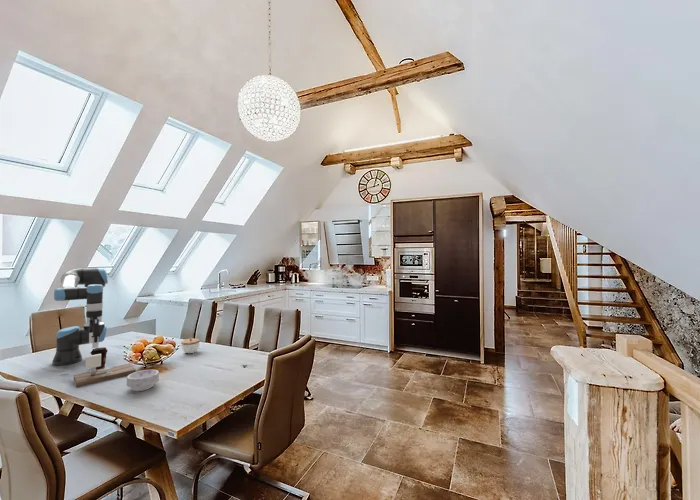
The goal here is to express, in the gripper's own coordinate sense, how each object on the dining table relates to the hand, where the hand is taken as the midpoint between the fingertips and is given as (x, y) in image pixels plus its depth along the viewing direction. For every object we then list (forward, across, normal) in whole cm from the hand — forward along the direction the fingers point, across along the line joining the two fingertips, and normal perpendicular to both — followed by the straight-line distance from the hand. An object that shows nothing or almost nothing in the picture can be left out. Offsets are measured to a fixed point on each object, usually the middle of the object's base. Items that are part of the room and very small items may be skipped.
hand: (93, 345), depth 184 cm
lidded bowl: (+20, -11, +59) cm, 63 cm away
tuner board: (+20, 0, +6) cm, 21 cm away
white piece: (+17, 0, +3) cm, 18 cm away
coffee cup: (+20, -19, +5) cm, 28 cm away
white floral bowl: (+21, +34, +18) cm, 44 cm away
